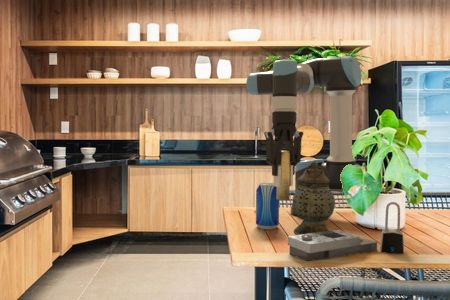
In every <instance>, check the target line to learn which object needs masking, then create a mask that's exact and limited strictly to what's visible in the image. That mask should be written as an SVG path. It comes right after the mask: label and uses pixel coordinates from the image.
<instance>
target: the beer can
mask: <svg viewBox="0 0 450 300" xmlns="http://www.w3.org/2000/svg"><path fill="white" fill-rule="evenodd" d="M255 194H256V195H255V198H256V199H255V225H256V226H257V228H258V229H261V230H273V229H274V230H275V229H277V228H278V226H279V223H280V200H278V199H277V187H276V186H274V182H260V183H258V186H257V187H256V190H255Z"/></svg>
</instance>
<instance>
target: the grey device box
mask: <svg viewBox="0 0 450 300" xmlns="http://www.w3.org/2000/svg"><path fill="white" fill-rule="evenodd" d="M287 245H288V246H289V255H291V256H293V257H296V258H298V259H301V260H303V261H305V262H310V261H317V260H321V259H329V260H330V259H335V258H341V257H347V256H352V255H353V256H354V255H358V253H359V254H363V253H364V252H365V253H370V252H374V251H377V250H378V242H377V241H375V240H371V239H369V238H365V237H363V236H361V235H357V234H353V233H349V232H347V231H343V230H339V229H333V230H332V229H330V231H323V232H316V233H309V234H301V235H296V234H295V235H289V236H288V235H287Z"/></svg>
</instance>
